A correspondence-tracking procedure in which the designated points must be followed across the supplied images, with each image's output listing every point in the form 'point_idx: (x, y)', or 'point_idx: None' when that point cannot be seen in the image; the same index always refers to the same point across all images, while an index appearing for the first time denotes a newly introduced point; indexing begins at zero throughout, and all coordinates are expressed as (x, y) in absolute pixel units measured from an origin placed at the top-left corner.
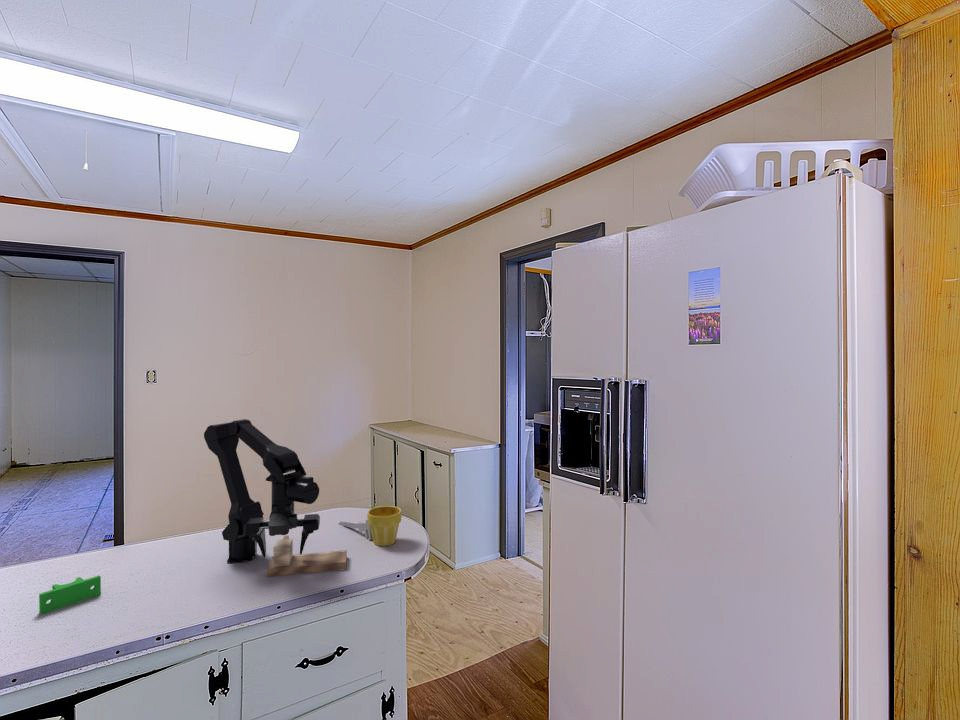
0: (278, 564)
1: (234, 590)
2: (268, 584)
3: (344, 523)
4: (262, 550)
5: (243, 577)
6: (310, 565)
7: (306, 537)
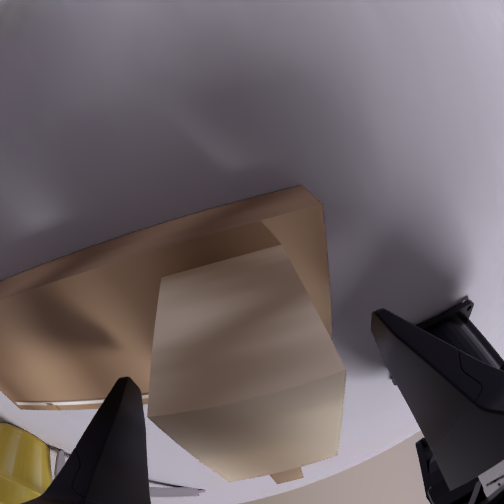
0: (245, 263)
1: (414, 27)
2: (241, 69)
3: (181, 493)
4: (421, 339)
5: (420, 178)
6: (28, 288)
7: (51, 490)
